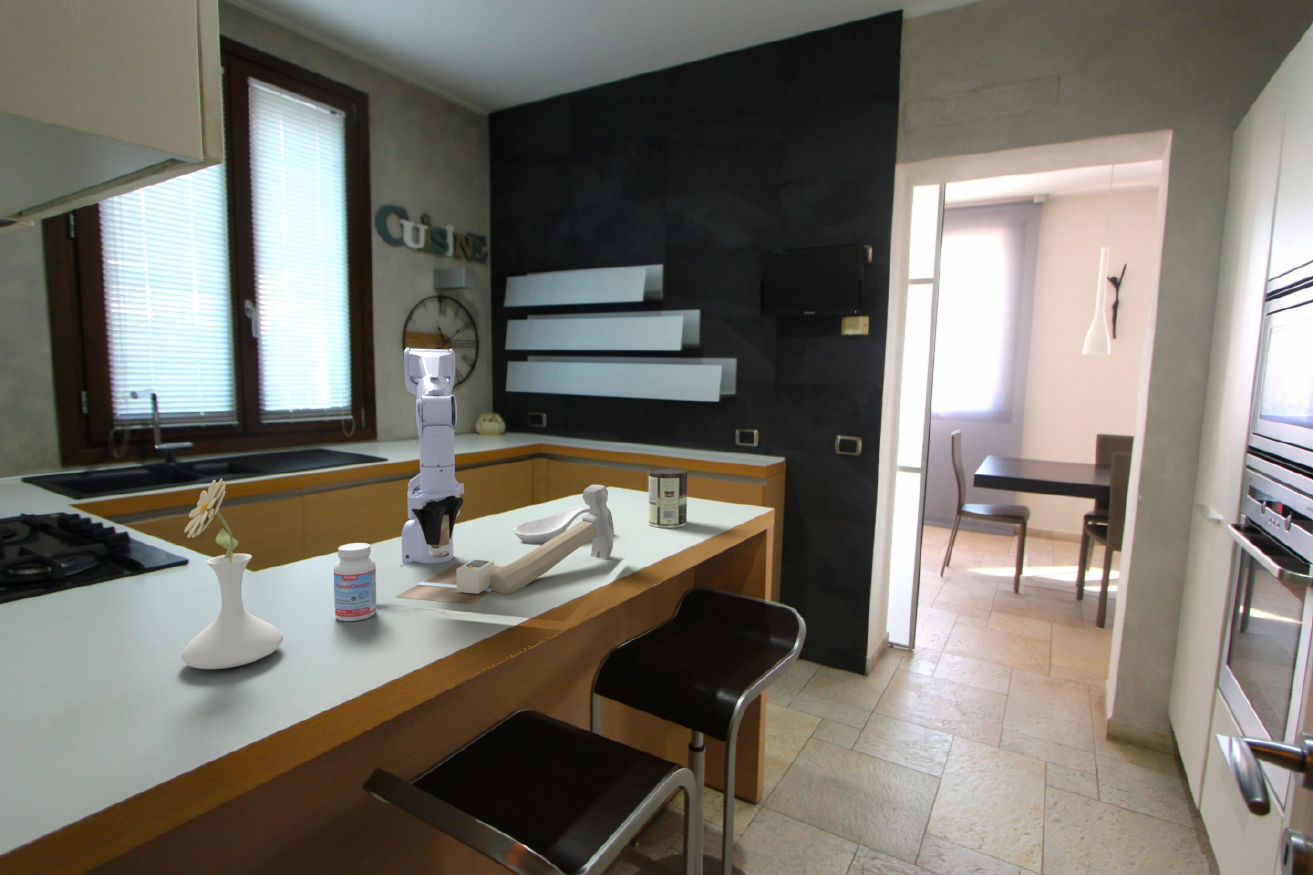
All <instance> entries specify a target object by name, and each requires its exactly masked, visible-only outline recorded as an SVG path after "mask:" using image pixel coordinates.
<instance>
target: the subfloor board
mask: <svg viewBox="0 0 1313 875" xmlns="http://www.w3.org/2000/svg"><path fill="white" fill-rule="evenodd" d="M464 564H465V563H461V562H455V563H454V564H453V565H450V566H449V567H447V568H445V569H443V570H441V571H440V572H437V573H436V574H434V575H433V576H431V577H429V578H427V579H425V580H424V581H421V582H419V583H417V584H416V585H414V586H412V587H411V588H409V589H407V590H405V591H404V592H401V593H400V594H399V595H396V596H395V598H400V599H401V598H402V599H411V600H412V599H413V600H423V601H432V602H441V603H442V602H443V603H454V604H463V605H474V604H476V602H478V601H479V600H480V599H482V598H484V597H486V595H488V594H489V593H490V592H492V591H493V590H492V587H491V585H490V586H489V587H488V588H486V589H485V590H483V591H482V592H480V593H479V594H475V593H464V592H457V572H456V569H457V568H459V567H461V566H463V565H464ZM503 567H504V566H498V565H494V572H495V571H497V570H499V569H501V568H503Z"/></svg>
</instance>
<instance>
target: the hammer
mask: <svg viewBox="0 0 1313 875" xmlns="http://www.w3.org/2000/svg"><path fill="white" fill-rule="evenodd" d="M608 496H609V491H608V489H607V487H606V485H603V484H590V485H588V486H587V487H586V488H585V489H584V490H583V492H582V500H583V501H584V505H585V506H586V505H587V506H588V507H590V513H587V514H586V515H584V516H582V519H581V521H579V522H578V523H576V524H575V525H573V526H572V527H570V528H567V529H566V530H565V532H563V533H561V534H560V535H558V536H556V537H555V538H553V539H551V540H549V541H548V542H546V543H545V544H543V545H539V547H536V548H534V549H533V550H532V551H530V552H529V553H527V554H525V555H524V556H522V557H520V558H519V559H517V560H515V561H513V562H510V563H509V564H507V565H505V566H502V567H503V568H501V569H499V570H497V571H495V572H493V573H491V574H490V585H491V587H492V591H494V592H498V593H501V594H503V595H509V594H513V593H514V592H516V591H519V590H521V589H523V588H525V587H526V586H528V585H529V584H530V583H531V582H533V581H534V580H537V579H538V578H540V577H541V576H542V575H544V574H545V573H547V572H549V571H550V570H551V569H553V568H554V567H555V566H556V565H557V564H559V563H560V562H561V561H563V560H565V558H567V557H568V556H569V555H572V553H574V552H575V551H576V550H578V549H579V548H580V547H582V546H583V545H585V544H586V543H588V542H590V541H591V540H592V543H591V553H590V557H594V558H599V559H603V560H608V559H610V557H611V554H612V550H613V547H614V536H615V534H614V533H615V530H614V522H613V517H612V515H613V514H612V512H611V510H610V509H609V508H608V505H607V503H608Z"/></svg>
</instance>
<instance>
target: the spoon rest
mask: <svg viewBox="0 0 1313 875" xmlns="http://www.w3.org/2000/svg"><path fill="white" fill-rule="evenodd" d="M584 513H587V514H589V513H590V506H588V505H587V506H586V505H578V506H577V505H576V506H574V507H570V508H567V509H566V510H562V511H561V512H556V513H554V514H552V515H549V516H545V517H542V518H540V519H535V520H532V521H527V522H524V523H521V524H519V525H517V526H515V527H514V529H513V533H514V534H515V536H516V537H517V538H518V539H519V540H520V541H522V542H524V543H525V544H529V545H538V546H541V545H543V544H545V543H546V542H548V541H549V540H551V539H553V538H555V537H556V536H558V535H560V534H561V533H563V532H565V531H567V530H568V529H569V527H570V525H571V524H572V523H573V522H574V520H575V519H576V518H577V517H579V516H581V515H582V514H584Z"/></svg>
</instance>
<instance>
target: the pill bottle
mask: <svg viewBox="0 0 1313 875" xmlns="http://www.w3.org/2000/svg"><path fill="white" fill-rule="evenodd" d="M371 552H372V550H371V544H369V543H366V542H354V543H353V542H351V543H346V544H343V545H340V546H339V547H338V548H337V556H338V559H340V560H338V561H337V562H336V563H334V566H333V590H334V591H333V593H334V595H333V596H334V602H333V603H334V616H335V618H336V619H337V620H338V621H341V622H358V621H363V620H366V619H369V618H371V617H373V616H374V615H375V613H376V612H377V573H376V572H377V570H376V569H377V568H376V561H375V560H374V559H373V558H372V557H370V555H371Z"/></svg>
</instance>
